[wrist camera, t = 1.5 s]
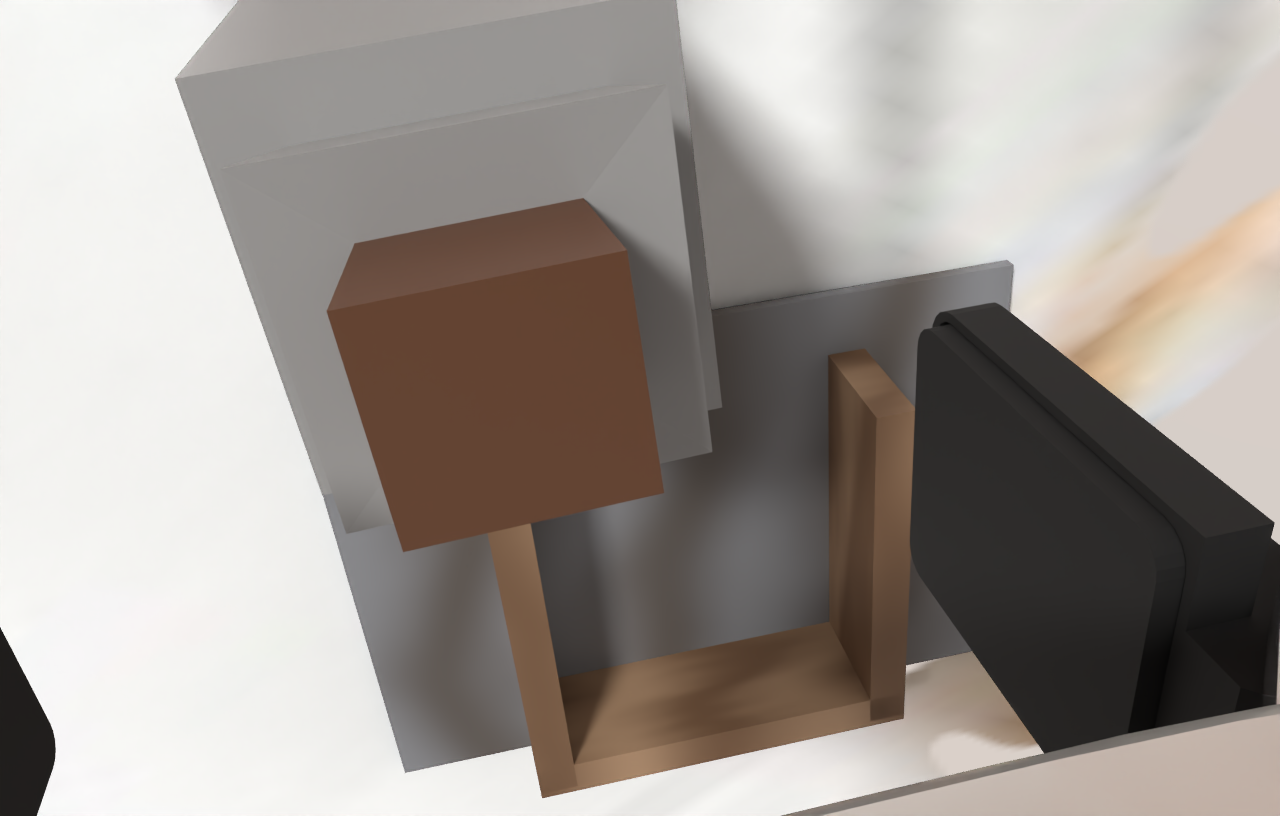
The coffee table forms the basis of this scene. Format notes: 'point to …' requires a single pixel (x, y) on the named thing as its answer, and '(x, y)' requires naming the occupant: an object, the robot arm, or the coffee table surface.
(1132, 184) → the coffee table surface
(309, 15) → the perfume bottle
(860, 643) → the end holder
